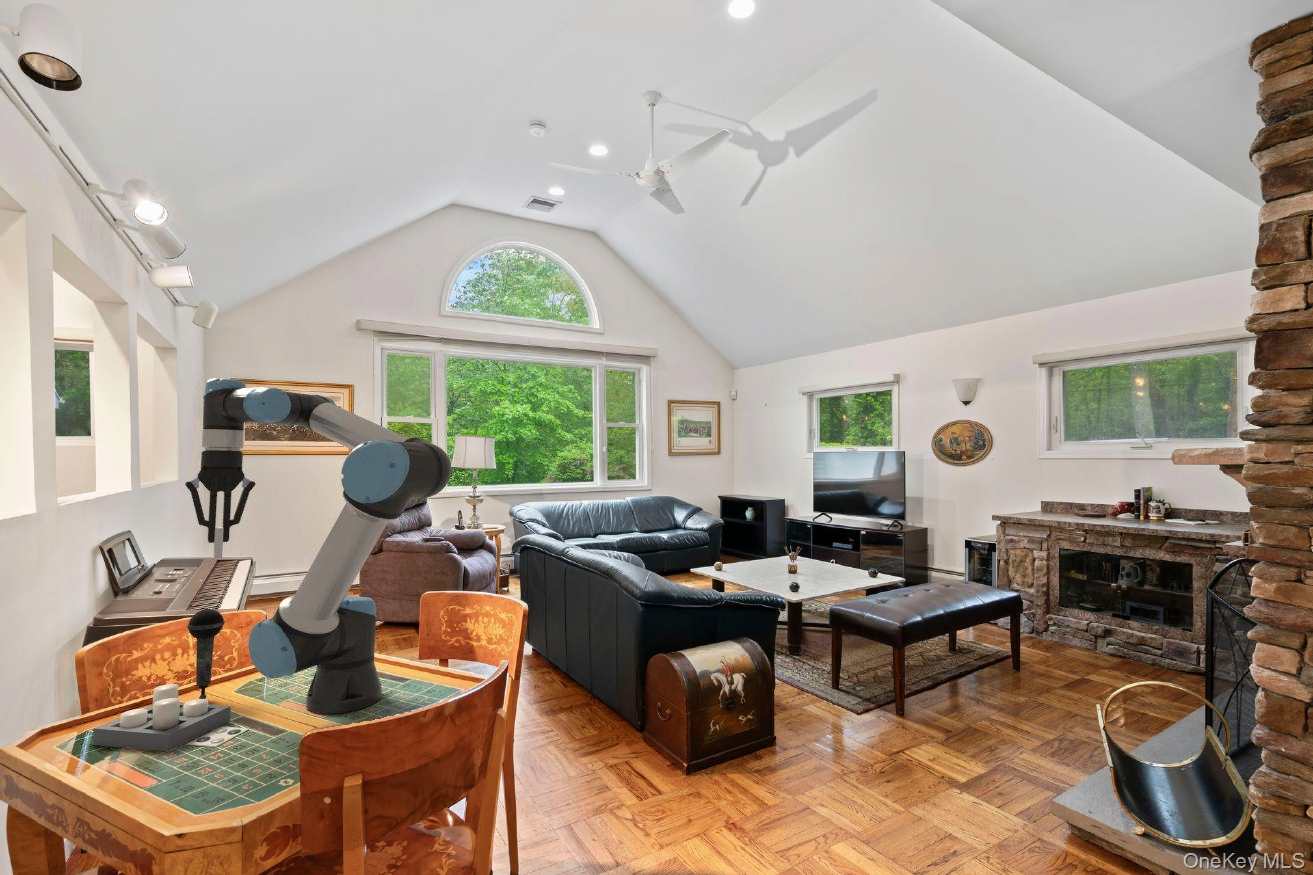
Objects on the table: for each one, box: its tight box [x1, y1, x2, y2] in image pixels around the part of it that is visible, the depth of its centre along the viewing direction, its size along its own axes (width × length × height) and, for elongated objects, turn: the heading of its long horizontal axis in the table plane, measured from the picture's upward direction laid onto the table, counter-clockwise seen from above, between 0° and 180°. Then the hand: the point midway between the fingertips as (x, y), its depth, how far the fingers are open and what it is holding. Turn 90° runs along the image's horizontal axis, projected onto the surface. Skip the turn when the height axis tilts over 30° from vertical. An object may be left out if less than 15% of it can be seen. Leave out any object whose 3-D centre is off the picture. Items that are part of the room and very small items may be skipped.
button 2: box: [152, 683, 179, 713], centre depth 127 cm, size 4×4×4 cm
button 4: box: [183, 698, 209, 717], centre depth 126 cm, size 4×4×4 cm
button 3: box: [152, 697, 181, 730], centre depth 120 cm, size 4×4×4 cm
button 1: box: [119, 708, 147, 728], centre depth 121 cm, size 4×4×4 cm
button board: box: [92, 701, 232, 752], centre depth 123 cm, size 16×14×3 cm
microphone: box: [186, 608, 225, 699], centre depth 141 cm, size 7×7×20 cm
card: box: [186, 725, 250, 748], centre depth 122 cm, size 6×8×1 cm
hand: (217, 557), depth 137 cm, fingers closed
